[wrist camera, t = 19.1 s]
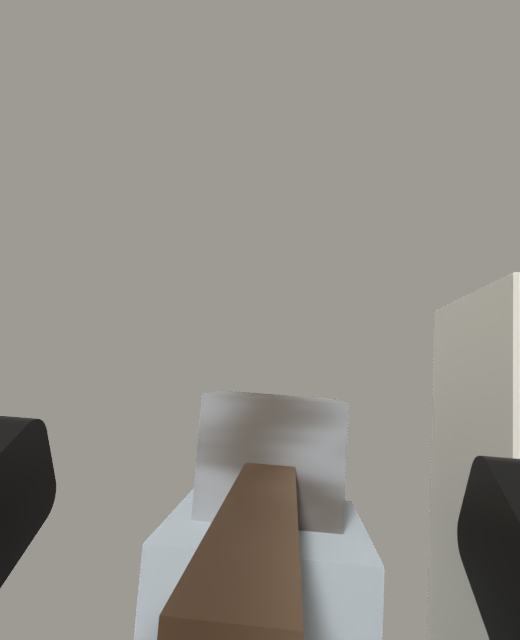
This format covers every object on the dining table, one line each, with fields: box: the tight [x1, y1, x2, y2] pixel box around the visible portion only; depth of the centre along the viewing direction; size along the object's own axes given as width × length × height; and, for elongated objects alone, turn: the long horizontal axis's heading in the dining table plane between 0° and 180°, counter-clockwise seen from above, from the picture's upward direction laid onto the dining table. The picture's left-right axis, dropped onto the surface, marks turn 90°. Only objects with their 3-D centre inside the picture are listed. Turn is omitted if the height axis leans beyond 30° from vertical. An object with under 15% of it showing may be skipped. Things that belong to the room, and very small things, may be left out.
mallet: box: [157, 391, 349, 640], centre depth 16 cm, size 6×18×5 cm, turn 176°
